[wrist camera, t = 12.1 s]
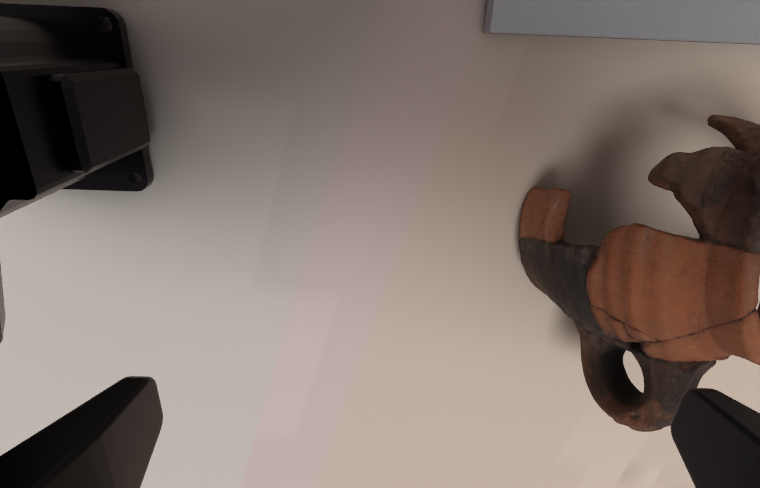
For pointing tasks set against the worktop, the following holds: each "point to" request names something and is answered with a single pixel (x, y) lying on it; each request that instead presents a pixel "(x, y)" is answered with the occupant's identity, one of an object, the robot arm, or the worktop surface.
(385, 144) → the worktop surface
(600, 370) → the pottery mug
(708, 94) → the worktop surface
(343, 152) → the worktop surface
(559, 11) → the grey board with socket
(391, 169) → the worktop surface
